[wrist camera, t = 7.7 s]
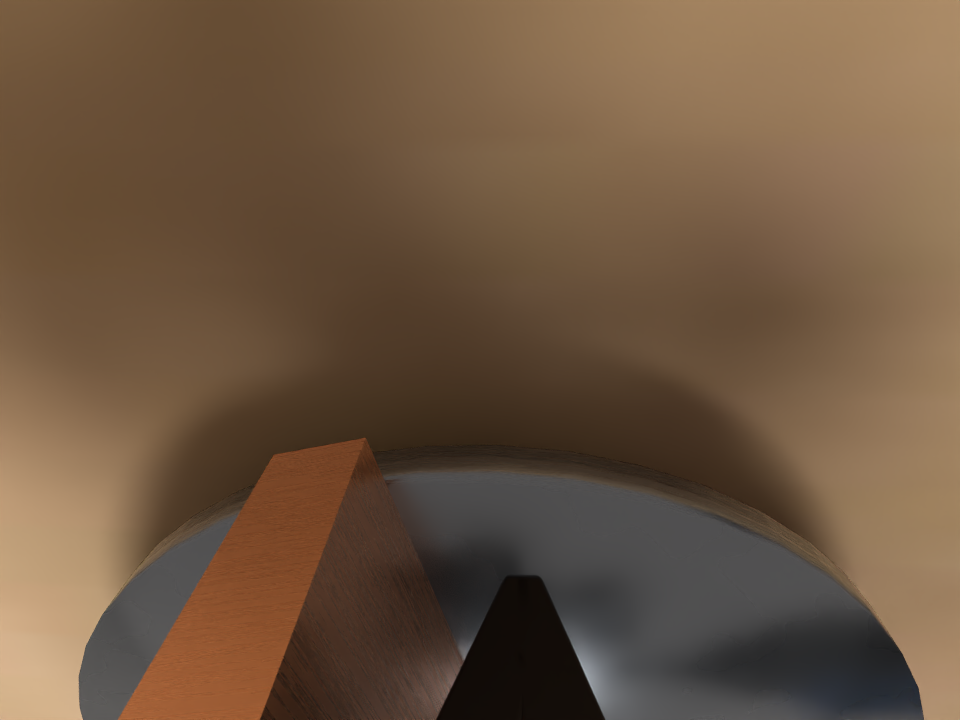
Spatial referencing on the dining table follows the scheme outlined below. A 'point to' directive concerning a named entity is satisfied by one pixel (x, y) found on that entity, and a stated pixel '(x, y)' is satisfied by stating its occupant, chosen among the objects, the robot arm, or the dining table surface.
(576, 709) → the robot arm
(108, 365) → the dining table surface
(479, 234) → the dining table surface
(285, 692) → the grey disc with hub
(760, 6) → the dining table surface
